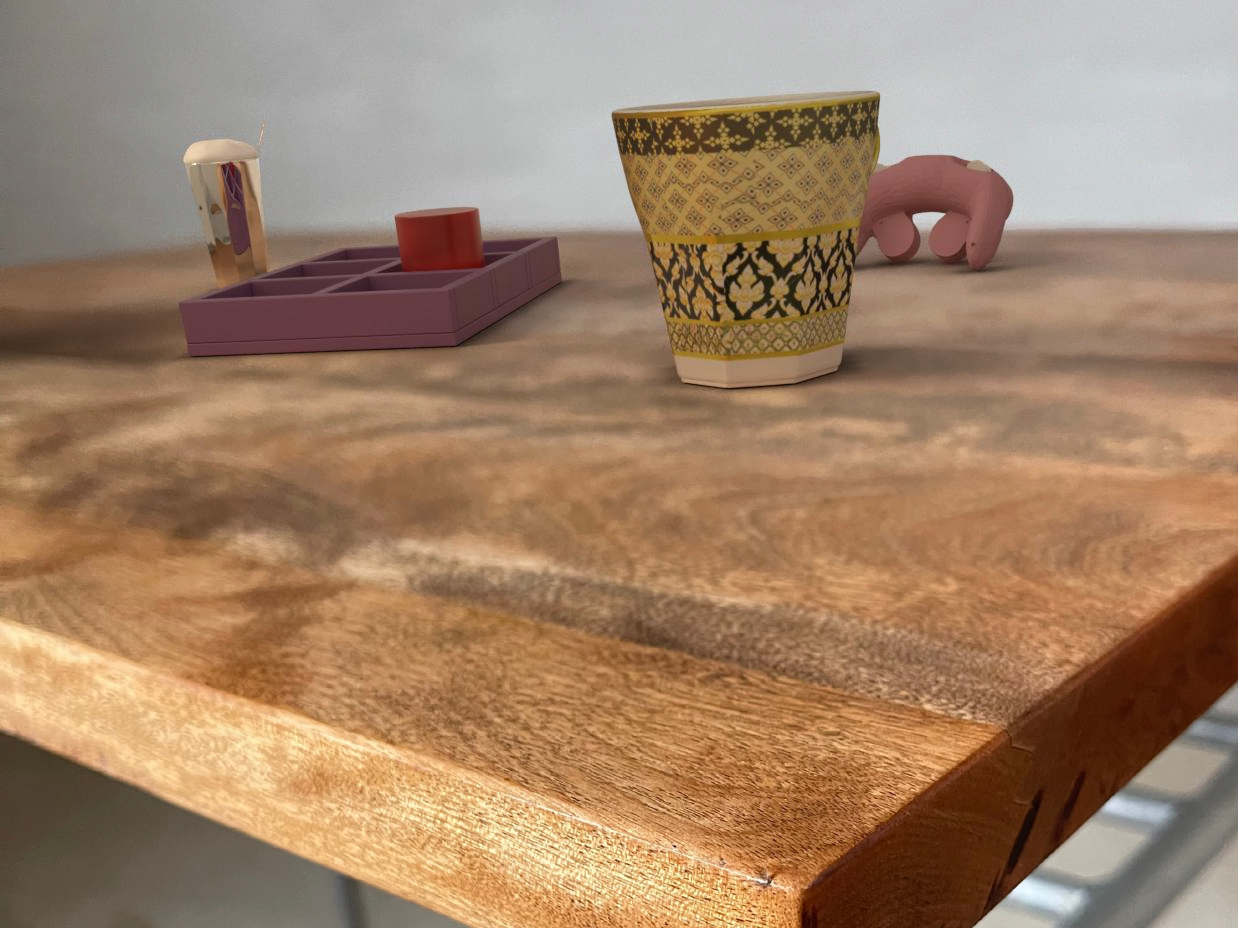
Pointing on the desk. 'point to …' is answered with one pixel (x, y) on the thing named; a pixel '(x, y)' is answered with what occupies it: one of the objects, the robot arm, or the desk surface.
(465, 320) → the purple compartment tray
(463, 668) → the desk surface
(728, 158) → the ceramic cup
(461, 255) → the red cylinder
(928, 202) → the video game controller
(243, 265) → the milkshake
